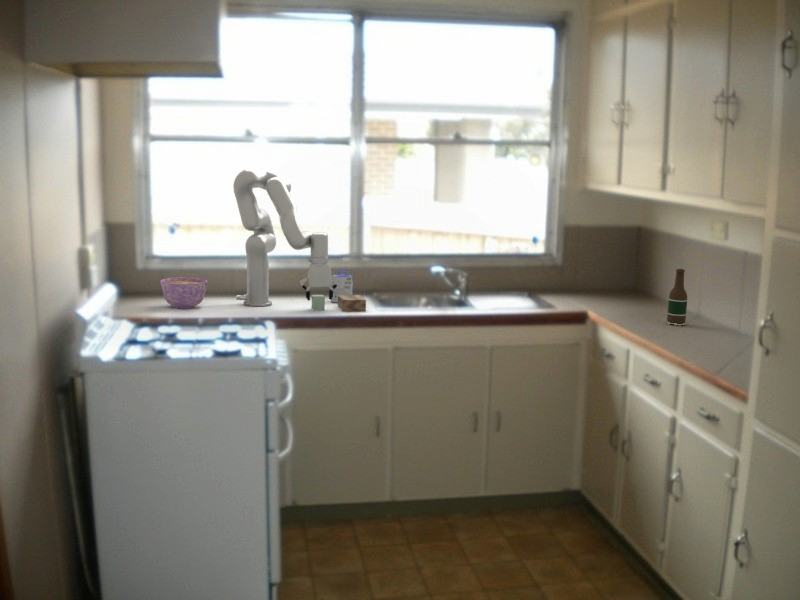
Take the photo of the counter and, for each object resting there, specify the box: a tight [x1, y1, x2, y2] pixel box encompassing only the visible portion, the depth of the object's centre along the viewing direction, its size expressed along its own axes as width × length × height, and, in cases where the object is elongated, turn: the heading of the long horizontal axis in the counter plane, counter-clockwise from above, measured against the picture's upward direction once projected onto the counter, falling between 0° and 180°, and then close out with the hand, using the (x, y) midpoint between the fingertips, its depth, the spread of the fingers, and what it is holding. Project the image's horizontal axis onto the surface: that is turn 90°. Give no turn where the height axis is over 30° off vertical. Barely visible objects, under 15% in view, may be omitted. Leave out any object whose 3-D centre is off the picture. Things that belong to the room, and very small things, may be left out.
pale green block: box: [311, 294, 326, 311], centre depth 396 cm, size 5×5×6 cm
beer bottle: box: [666, 268, 688, 324], centre depth 387 cm, size 8×8×24 cm
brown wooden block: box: [337, 294, 367, 312], centre depth 400 cm, size 10×13×5 cm
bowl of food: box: [159, 276, 209, 310], centre depth 389 cm, size 20×20×12 cm
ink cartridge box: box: [330, 269, 354, 303], centre depth 416 cm, size 10×6×14 cm, turn 94°
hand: (319, 299), depth 395 cm, fingers open, 9 cm apart
